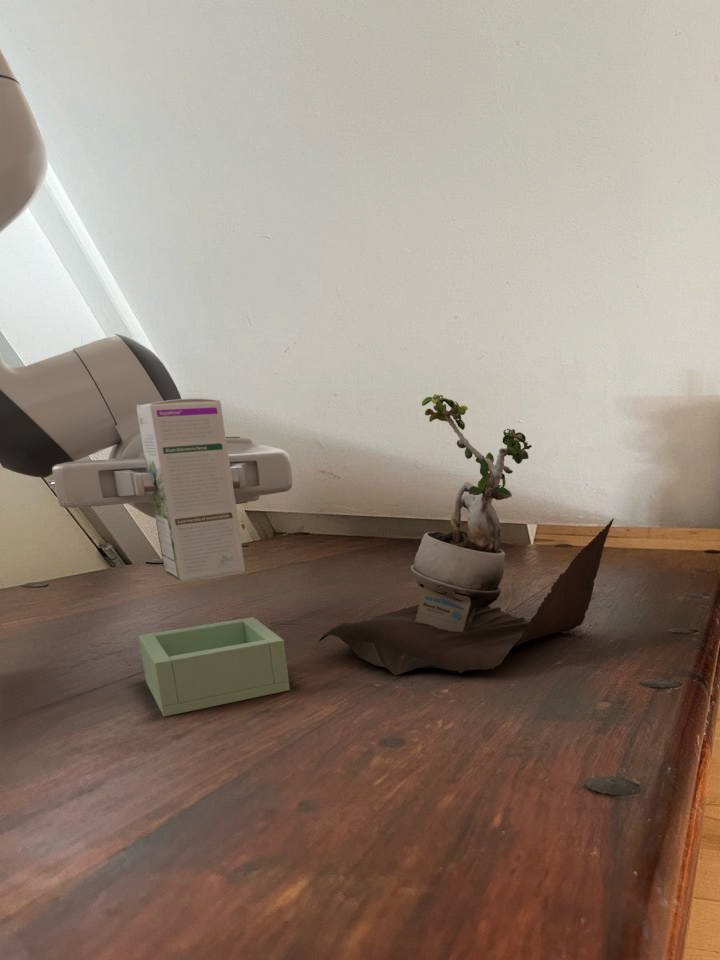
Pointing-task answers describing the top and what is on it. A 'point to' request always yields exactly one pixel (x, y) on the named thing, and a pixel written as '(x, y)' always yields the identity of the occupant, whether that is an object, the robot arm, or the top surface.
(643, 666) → the top surface
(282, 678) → the socket
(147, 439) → the syrup box
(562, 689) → the top surface
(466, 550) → the potted plant
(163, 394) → the robot arm
